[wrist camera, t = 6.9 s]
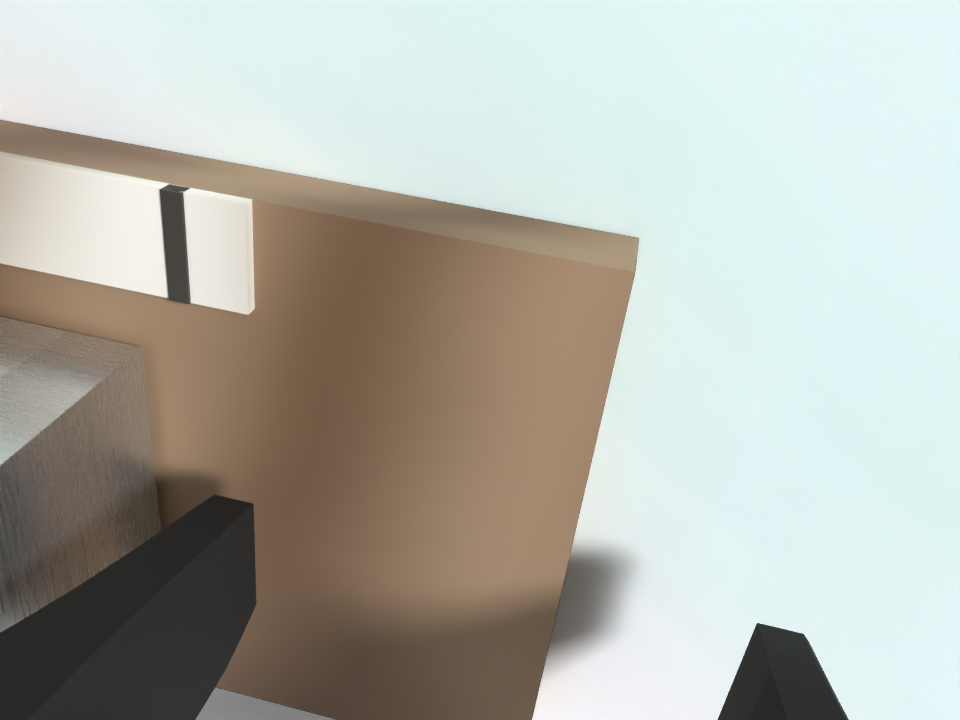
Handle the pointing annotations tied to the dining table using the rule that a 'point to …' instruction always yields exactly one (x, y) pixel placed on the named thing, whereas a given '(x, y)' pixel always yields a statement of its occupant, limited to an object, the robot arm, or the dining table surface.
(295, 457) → the gauge frame
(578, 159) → the dining table surface
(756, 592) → the dining table surface
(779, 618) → the dining table surface
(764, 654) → the robot arm
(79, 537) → the brushed steel block
